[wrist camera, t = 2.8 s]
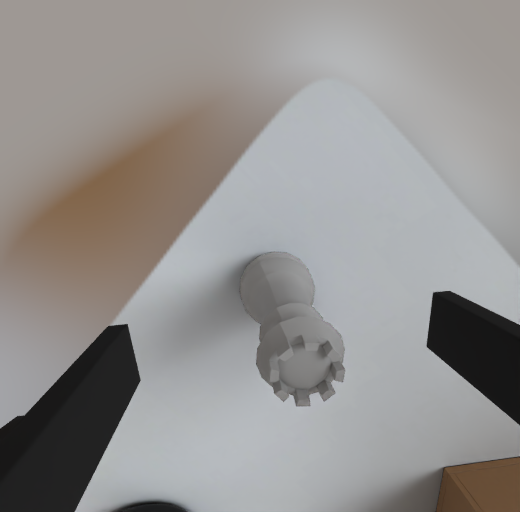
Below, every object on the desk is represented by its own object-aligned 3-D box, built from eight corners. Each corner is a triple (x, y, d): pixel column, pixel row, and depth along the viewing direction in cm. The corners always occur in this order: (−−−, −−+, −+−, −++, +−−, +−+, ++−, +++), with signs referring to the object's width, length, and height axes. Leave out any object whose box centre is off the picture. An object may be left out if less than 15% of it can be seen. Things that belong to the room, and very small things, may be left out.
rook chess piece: (225, 272, 16) (212, 359, 8) (289, 236, 15) (340, 288, 8) (261, 327, 17) (280, 448, 9) (321, 294, 16) (393, 390, 9)
